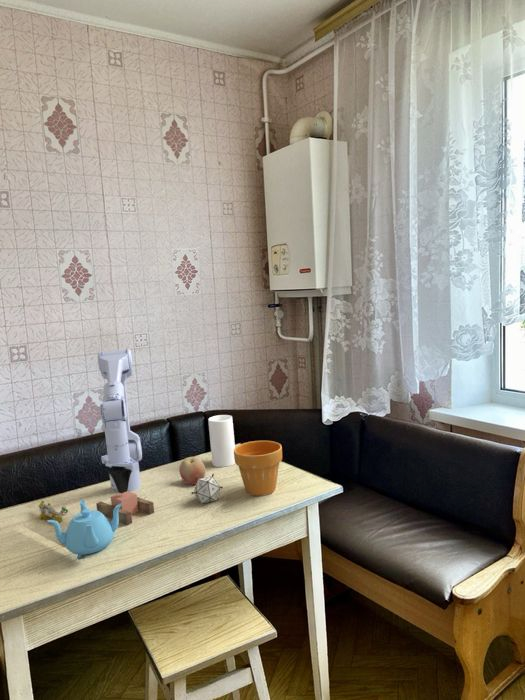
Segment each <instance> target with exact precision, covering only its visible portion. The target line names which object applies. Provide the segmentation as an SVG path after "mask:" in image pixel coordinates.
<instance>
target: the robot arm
mask: <svg viewBox="0 0 525 700" xmlns="http://www.w3.org/2000/svg"><path fill="white" fill-rule="evenodd" d="M97 365H98V369H99V371H100V375H101V376H102V379H105V380H107V382H106V383H105V384H104V385H103V389H102V403H100V405H99V413H100V419H101V423H102V429H103V430H104V435H105V444H106V453H107V454H105V455H102V456H101V457H100V458H101V463H102V464H103V465H104V464H105V467H108V468H107V469H106V470H107V471H106V472H108V475H109V481H110V482H109V483H110V488H111V489H114V490H117V492H118V494H119V493H124V492H127V491H128V492H131V493H132V492H134V491H137V490H139V489H140V488H141V487H142V481H141V475H140V464H139V462H140V461H141V460H142V459H143V450H142V444H141V438H140V436H139V434H137V433H136V432H133V431H132V430H131V426H130V414H129V404H128V393H127V392H128V389H127V382H128V378H130V377H132V376H133V372H134V369H133V357H132V351H131V349H130V348H125V349H116V350H106V351H99V352H98V353H97Z"/></svg>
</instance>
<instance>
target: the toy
mask: <svg viewBox="0 0 525 700" xmlns="http://www.w3.org/2000/svg"><path fill="white" fill-rule="evenodd" d="M51 505H52V504H51V503H50V502H48V503H47V504H46V503H45V501H44V500H41V501H40V504H39V505H38V507H39V510H40V514H39V519H40V520H45V519H50V520H55V521H57V522H58V523H59V524H60V523H62V522H63V518H62V515H64V514H65V515H66V514H68V512H69V510H68V509H67V507H66V506H62V507H61V510H60V511H59V512H58V511H56V510H55V509H54V507H53V506H51Z"/></svg>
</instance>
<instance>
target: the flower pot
mask: <svg viewBox="0 0 525 700" xmlns="http://www.w3.org/2000/svg"><path fill="white" fill-rule="evenodd" d="M234 459H235V465H237V466H238V469H239V473H240V476H241V480H242V483H243V486H244V489H245V492H246V493H247V494H248V495H250V496H257V497H259V496H267V495H269V494H272V493H275V491H276V488H277V487H276V486H277V484H278V483H277V481H278V475H279V468H280V463H281V462H282V461H283V447H282V444H281V443H279V442H276V441H272V440H254V441H248V442H247V441H246V442H243V443H240V444H238V445H237V446H235V449H234Z"/></svg>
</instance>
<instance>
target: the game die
mask: <svg viewBox="0 0 525 700" xmlns="http://www.w3.org/2000/svg"><path fill="white" fill-rule="evenodd" d="M214 475H215V474H214V473H212V475H211V476H206V477H205V476H204V478H200V479H198V478H197V477H196V479H197V482H196V484H195V485H194V486H195V487H194V489H193V491H192V492H191V493H190V494H192V495H193V494H194V496H195V497H196V499H197V500H198V502H199V503H200V504H202V505H203V504H207V503H211V502H212V503H213V502H216V501H218V499H219V495H220V491H221V489H223V488H224V486H220V484H219V483H218V481H217V480H216V479H215V477H214Z"/></svg>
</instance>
